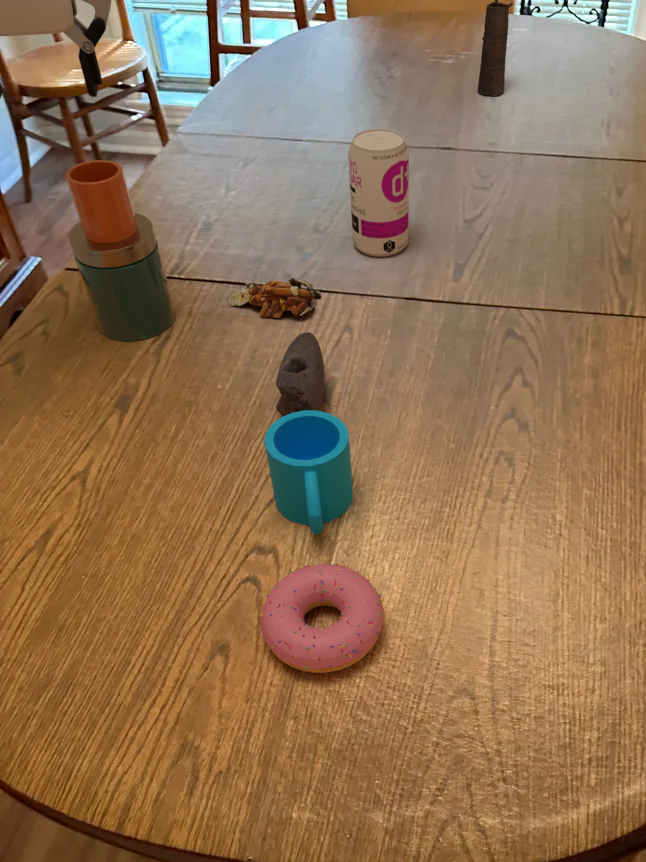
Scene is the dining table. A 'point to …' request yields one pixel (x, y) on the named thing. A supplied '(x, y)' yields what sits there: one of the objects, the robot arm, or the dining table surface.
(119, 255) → the jar lid
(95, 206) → the cup
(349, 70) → the dining table surface
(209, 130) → the dining table surface
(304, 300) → the brown lumpy piece
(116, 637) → the dining table surface
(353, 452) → the dining table surface
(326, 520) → the mug
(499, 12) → the butter churn
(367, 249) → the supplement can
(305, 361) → the perforated stone tool
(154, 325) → the jar
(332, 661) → the doughnut
